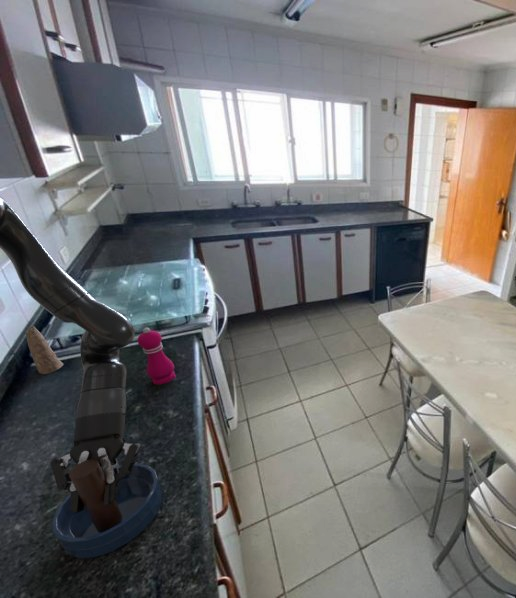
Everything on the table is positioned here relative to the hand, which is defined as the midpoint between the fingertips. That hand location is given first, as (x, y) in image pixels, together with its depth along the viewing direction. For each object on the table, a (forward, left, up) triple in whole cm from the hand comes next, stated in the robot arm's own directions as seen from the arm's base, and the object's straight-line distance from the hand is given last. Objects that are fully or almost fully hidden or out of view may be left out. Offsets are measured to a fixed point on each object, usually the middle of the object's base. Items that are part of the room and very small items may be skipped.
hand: (93, 507), depth 62 cm
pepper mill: (+2, +52, -10) cm, 52 cm away
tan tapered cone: (-30, +66, -10) cm, 73 cm away
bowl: (0, +5, -10) cm, 11 cm away
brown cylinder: (0, +2, -8) cm, 8 cm away
